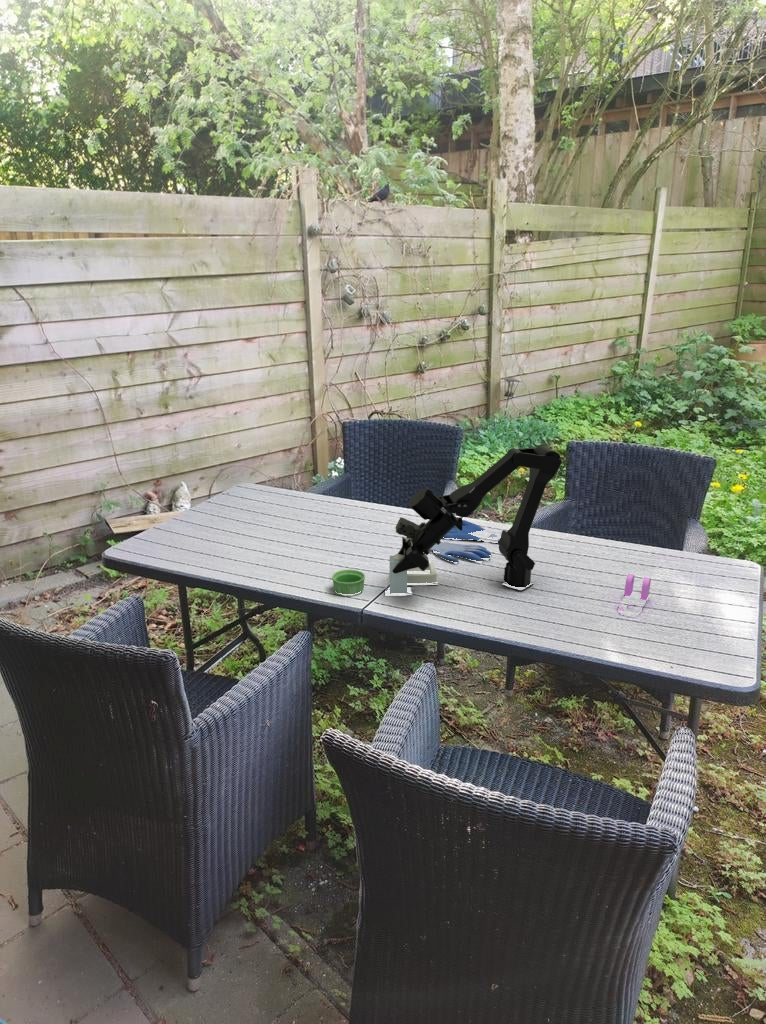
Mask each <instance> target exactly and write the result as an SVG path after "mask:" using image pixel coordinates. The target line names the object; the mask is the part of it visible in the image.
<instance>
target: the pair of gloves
mask: <svg viewBox="0 0 766 1024" xmlns="http://www.w3.org/2000/svg"><path fill="white" fill-rule="evenodd" d="M462 520H463V519H462ZM481 530H482V531H483V530H486V529H485V528H484V527H482V526H479V524H476V523H473V522H471V521H468V520H463V523H462V531H460V530H459V529H458V528H457V527H456V526H455V527H453V528H452V529H451V530H450V531H449V532H448V533H447V534H446V535H445V536H444V538H454V539H456V538H457V539H473V540H479V539H480V538H478V537H476V536H473V535H471V534H468V533H471V532H472V533H473V532H476V531H481ZM495 534H496V533H494V534H491V535H490V536H489V537H492V538H493V537H497V535H495ZM489 537H488V538H489ZM499 540H500V539H498V540H495V541H499ZM431 550H434V551H437V552H440V553H435V554H437V555H438V556H440V557H442V558H444V559H446V560H449V561H453V562H458V563H459V559H458V558H460V557H463V558H462V559H464V558H467V559H471V560H476V561H482V560H483V559H481V558H490V556H489V555H491V554H492V553H491V551H490V550H488V549H487V548H486V547H485V546H481V545H479V544H462V543H461V544H460V543H459V544H458V543H452V542H449V541H441V543H440V544H439V545H438V544H435V545H434V546H433V547H432V548H431V549H430V550H429V551H431ZM435 554H434V555H435ZM448 555H451V556H448ZM453 555H454V556H453ZM438 556H437V557H438ZM456 556H459V557H458V558H456ZM491 556H492V555H491ZM440 557H439V558H440ZM442 558H441V559H442ZM444 559H443V560H444ZM467 559H466V560H467ZM446 560H445V561H446Z"/></svg>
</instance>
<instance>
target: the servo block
mask: <svg viewBox="0 0 766 1024" xmlns="http://www.w3.org/2000/svg"><path fill="white" fill-rule="evenodd" d="M403 556H404V555H401V554H398V553H396V554H394V555H389V587H390V594H391V593H407V570H406V571H403V572H399V573H396V574H395V573H393V569H394V568H395V566H396V565H397V564H398V563H399V561H400V560H401V559H402V558H403ZM387 587H388V586H384V587H383V589H384V588H387ZM387 590H388V589H386V590H385V591H387Z"/></svg>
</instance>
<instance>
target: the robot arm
mask: <svg viewBox="0 0 766 1024" xmlns="http://www.w3.org/2000/svg"><path fill="white" fill-rule="evenodd" d="M562 462H563V459H562V457H561V455H560V454H559V453H558V452H557V451H556V450H553V449H551V448H550V447H548V446H546V445H540V446H537V447H536V448H535V447H534V448H533V447H526V448H516V447H515V448H514V447H513V448H510V449H509V450H507V452H506V453H505V454H504V455H503V456H501V458H499V459H498V460H497V461H496V462H495V463H494V464H493V465H491V466H490V467H489V468H488V469H487V470H485V471H484V472H483V473H481V475H480V476H478V477H477V478H475V479H474V480H473V481H472V482H470V483H467V484H464V485H462V486H460V487H458V488H457V489H455V490H454V491H452V492H451V493H450V494H445V495H440V496H437V495H435V494H434V492H433V491H432V490H431V489H430V488H429V487H428V486H426V487H425V488H424V489H421V490H419V491H418V492H416V493H414V494H413V495H412V497H411V498H410V499H409V502H408V507H410V508H411V510H413V511H414V513H416V514H418V516H419V517H421V518H422V519H423V520H425V521H426V520H428V521H426V522H425V521H423V522H421V523H420V524H417V523H415V522H414V521H411V520H409V519H406V518H404V517H399V519H398V521H397V523H396V525H395V533H397V534H398V535H400V536H401V537H402V539H401V540H402V541H401V542H402V543H401V544H402V545H401V548H400V549H399V551H398V552H397V554H401V555H404V556H403V558H402V559H401V560H400V561H399V563H398V564H397V565H396V566H395V568H394V569H393V573H395V574H396V573H399V572H403V571H406V570H409V569H413V568H417V567H419V568H420V569H421V570H422V571H424V570H426V569H427V568H428V567H429V562H430V561H429V556H428V555H429V554H430V551H431V550H430V549H431V548H432V547H433V546H434V545H435V544H438V545H439V544H440V543H441V542H442V541H441V539H442V538H443V537H444V536H445V535H446V534H447V533H448V532H449V531H450V530H451V529H452V528H453V527H455V526H456V527H457V528H458V529H459V530H460V531H462V523H463V518H469V516H472V514H473V513H474V512H475V511H476V510H477V509H478V507H479V506H480V505H481V503H482V501H483V499H484V498H485V497H486V495H487V494H488V493H490V492H491V491H492V490H493V489H495V488H496V486H498V485H499V484H500V483H502V482H503V481H504V480H505V479H506V478H507V477H508V476H510V474H512V473H514V471H516V470H517V469H518V468H519V467H521V468H522V467H523V468H529V478H528V482H527V485H526V487H525V489H524V493H523V495H522V498H521V502H520V504H519V507H518V510H517V512H516V515H515V518H514V520H513V523H512V525H511V527H510V528H509V529H508V530H504V529H502V530H501V533H500V534H501V538H500V540H499V541H498V543H497V544H498V550H499V553H500V554H501V555H502V556H503V557H504V559H505V560H506V561H507V562H506V563H505V567H504V569H503V570H504V571H503V572H504V573H503V582H507V583H508V584H509V585H511V586H515V587H526V586H527V585H529V584H530V582H532V581H531V579H532V577H531V576H532V571H533V570H534V567H535V566H536V562H535V561H534V560H533V559H532V558H531V557H530V556H529V555H528V553H529V548H530V540H529V539H530V537H529V536H530V534H529V533H530V531H531V528H532V525H533V522H534V520H535V517H536V514H537V512H538V510H539V507H540V504H541V501H542V498H543V495H544V492H545V490H546V487H547V485H548V483H549V482H551V480H552V479H553V478H554V477H556V475H557V473H558V471H559V469H560V468H561V466H562ZM456 515H457V516H458V517H457V516H456Z"/></svg>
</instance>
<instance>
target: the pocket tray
mask: <svg viewBox="0 0 766 1024" xmlns="http://www.w3.org/2000/svg"><path fill="white" fill-rule="evenodd" d="M426 570H430V574H407V583H426V582H427V583H432V582H437V578H438V576H437V575H438V573H437V570H436V567H435V563H434V562H430V561H429V567H428V568H427V569H426ZM407 571H422V570H421V569H420V568H419V567H417V568H413V569H409V570H407ZM424 571H425V570H424Z"/></svg>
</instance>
